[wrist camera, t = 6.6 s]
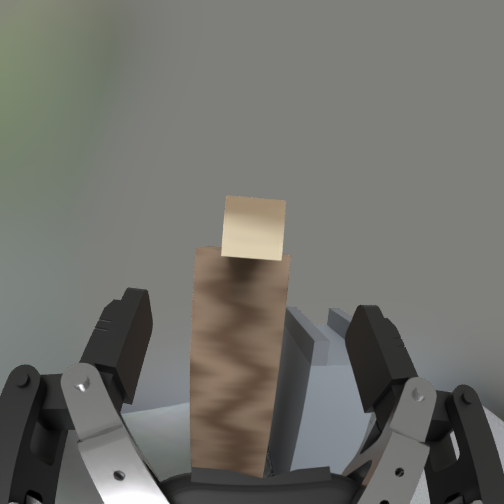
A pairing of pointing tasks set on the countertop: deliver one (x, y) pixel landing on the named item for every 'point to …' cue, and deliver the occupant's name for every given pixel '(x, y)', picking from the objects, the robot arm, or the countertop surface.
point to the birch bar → (253, 228)
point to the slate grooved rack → (315, 397)
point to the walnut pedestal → (235, 358)
